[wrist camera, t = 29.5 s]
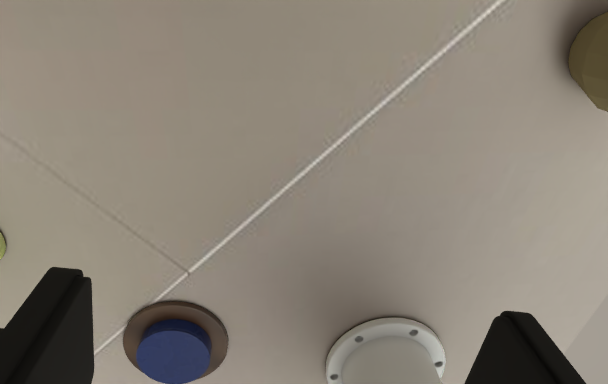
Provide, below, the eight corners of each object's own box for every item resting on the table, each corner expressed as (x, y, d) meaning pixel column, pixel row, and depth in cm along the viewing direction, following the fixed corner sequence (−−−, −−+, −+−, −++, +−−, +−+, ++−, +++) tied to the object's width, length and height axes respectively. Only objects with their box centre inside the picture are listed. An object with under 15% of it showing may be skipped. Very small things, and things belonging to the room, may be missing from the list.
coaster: (207, 387, 47) (207, 392, 47) (112, 362, 45) (110, 367, 44) (243, 318, 43) (242, 323, 43) (141, 288, 41) (139, 292, 40)
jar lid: (165, 306, 41) (162, 318, 40) (226, 339, 44) (224, 351, 42) (126, 351, 43) (121, 364, 42) (186, 381, 46) (183, 394, 44)
